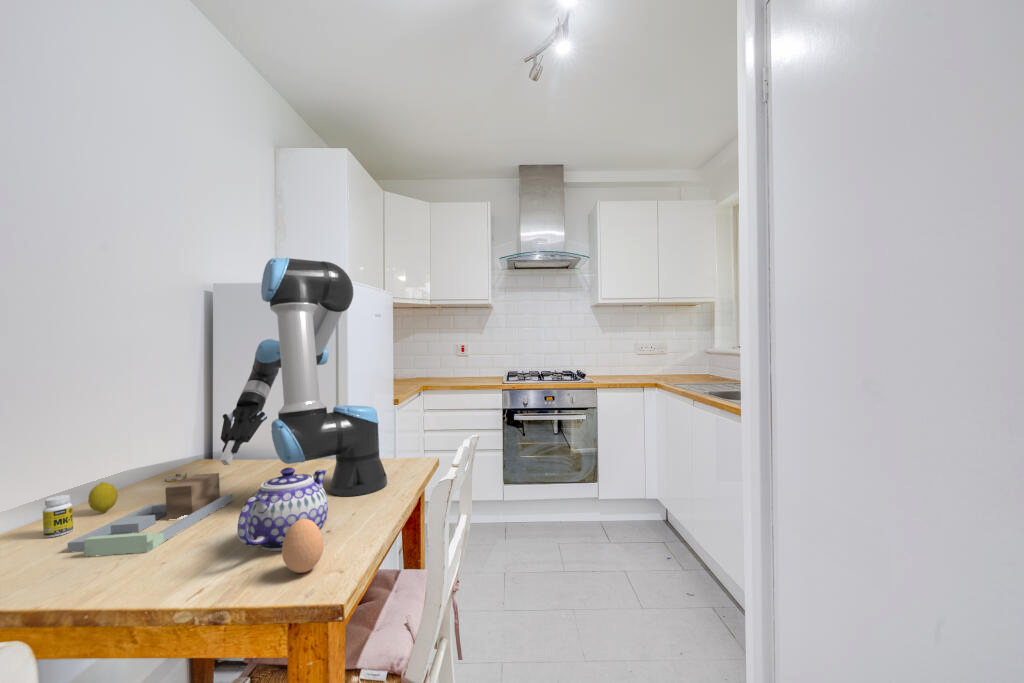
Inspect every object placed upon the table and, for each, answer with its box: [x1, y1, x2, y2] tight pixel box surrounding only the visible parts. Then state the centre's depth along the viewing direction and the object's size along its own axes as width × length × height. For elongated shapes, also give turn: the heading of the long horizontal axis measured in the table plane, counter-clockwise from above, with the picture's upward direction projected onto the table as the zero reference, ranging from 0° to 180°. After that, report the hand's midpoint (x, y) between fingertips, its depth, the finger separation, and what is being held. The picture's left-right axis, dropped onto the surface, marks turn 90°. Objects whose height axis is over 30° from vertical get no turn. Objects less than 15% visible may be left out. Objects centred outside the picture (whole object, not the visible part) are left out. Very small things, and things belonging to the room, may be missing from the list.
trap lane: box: [67, 493, 234, 557], centre depth 103 cm, size 30×18×4 cm, turn 3°
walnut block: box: [165, 472, 221, 521], centre depth 112 cm, size 11×6×8 cm, turn 3°
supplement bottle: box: [42, 494, 74, 539], centre depth 101 cm, size 5×5×8 cm
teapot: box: [237, 467, 329, 552], centre depth 91 cm, size 25×15×15 cm, turn 166°
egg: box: [281, 519, 325, 574], centre depth 77 cm, size 7×7×9 cm
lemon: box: [88, 481, 118, 514], centre depth 113 cm, size 6×6×8 cm
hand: (224, 462), depth 126 cm, fingers closed
